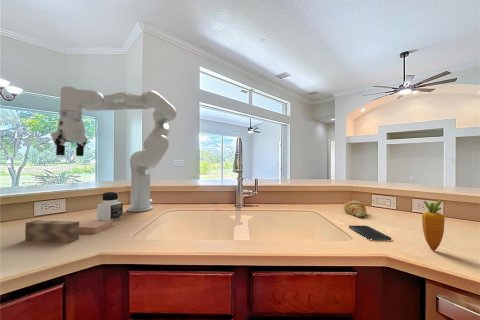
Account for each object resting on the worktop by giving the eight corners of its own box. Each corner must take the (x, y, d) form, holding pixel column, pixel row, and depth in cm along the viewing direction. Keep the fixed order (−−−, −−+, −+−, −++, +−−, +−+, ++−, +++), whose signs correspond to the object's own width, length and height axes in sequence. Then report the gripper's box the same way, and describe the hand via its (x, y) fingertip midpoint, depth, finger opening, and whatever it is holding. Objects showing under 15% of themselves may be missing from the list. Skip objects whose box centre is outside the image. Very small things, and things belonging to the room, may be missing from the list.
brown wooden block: (78, 239, 72) (79, 221, 72) (71, 243, 69) (71, 224, 69) (34, 238, 73) (35, 220, 73) (25, 241, 70) (25, 222, 70)
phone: (369, 238, 72) (347, 225, 87) (369, 241, 72) (347, 228, 87) (393, 238, 72) (367, 225, 87) (393, 242, 72) (367, 228, 87)
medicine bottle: (110, 221, 93) (111, 193, 94) (96, 220, 95) (97, 193, 95) (122, 217, 100) (123, 191, 101) (109, 216, 102) (110, 190, 102)
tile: (74, 226, 78) (95, 227, 77) (93, 220, 87) (112, 221, 86) (74, 234, 78) (95, 235, 77) (93, 226, 87) (112, 227, 86)
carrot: (417, 247, 66) (417, 198, 67) (432, 247, 67) (432, 198, 67) (433, 254, 61) (433, 201, 62) (449, 254, 62) (449, 201, 62)
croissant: (367, 226, 101) (376, 211, 100) (346, 215, 103) (355, 200, 102) (355, 214, 121) (362, 202, 120) (338, 205, 123) (345, 193, 122)
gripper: (61, 111, 86) (60, 154, 85) (94, 120, 103) (93, 156, 103) (43, 111, 86) (43, 154, 86) (79, 120, 103) (78, 156, 103)
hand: (70, 155), depth 94 cm, fingers open, 9 cm apart
